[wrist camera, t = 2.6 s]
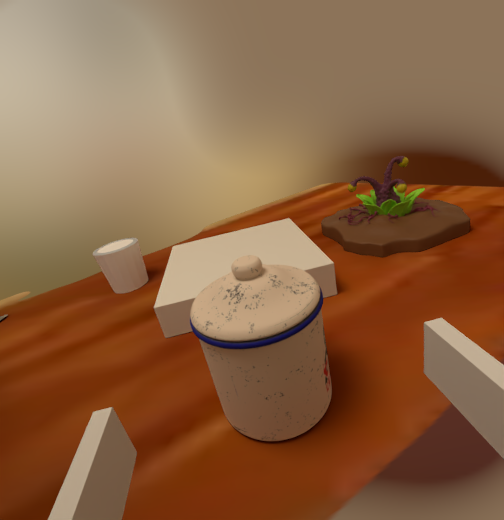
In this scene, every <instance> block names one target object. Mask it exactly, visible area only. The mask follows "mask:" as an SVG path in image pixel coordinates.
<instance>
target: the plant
mask: <svg viewBox="0 0 504 520" xmlns="http://www.w3.org/2000/svg"><path fill="white" fill-rule="evenodd" d="M394 162H397V164H398V165H399V166H400V167H405V166H406V165H407V164H408V159H407V158H406V157H404V156H399V157H395V158H392V160H391V162H390V163H389V164H388V167H387V169H386V172H385V174H384V175H385V178H384V183H383V184H380V183H378V182H377V181H376V180H374V179H372V178H370V177H365V176H364V177H360V178H358V179H356V180H355V181H352V182H351V183H350V184H349V186H348V190H349V191H350V192H353V191H355V190H356V187H357V182H358V181H361V180H364V181H365V180H366V181H368V182H369V183H370V184H371V185H372V186H373V188H374V190H371V191H370V194H371V196H372V198H371V197H369V196H366V195H359V194H357V195H356V196H357V197H358V198H360V199H361V200H362V201H363V202H364V203H363V204H362V205H361V204H359V206H358V207H352V208H351V207H350V208H349V209H345V210H340V211H337V213H336V214H334V215H332V216H329V217H326V218H324V219H323V220H322V223H321V225H322V233H323V235H325V236H326V237H329V238H331V239H333V240H335V241H336V242H338V243H339V244H340V245H342V246H343V248H344V250H345V251H347V252H353V253H356V254H359V255H370V256H377V257H386V256H388V255H391V254H395V253H401V252H421V251H424V250H427V249H429V248H432V247H434V246H437V245H439V244H442V243H444V242H447V241H449V240H452V239H454V238H457V237H460V236H462V235H464V234H467V233H468V232H469V228H470V218H469V217H468V216H467V215H466V214H465V213H464V212H463V209H462V208H460V207H458V206H456V205H453V204H450V203H447V202H444V201H440V200H426V199H422V198H416V197H417V196H419V194H420V193H422V192H423V191H424V190H425V189H424V188H422V189H417V190H415V191H413V192H411V193H410V194H409V195H408V196H407V197H405V198H404V194H405V191H406V189H407V185H406V183H405V182H404V181H403V180H401V179H395V180H393V181H391V174H392V172H391V170H392V166H393V164H394ZM397 183H398V184H397ZM396 184H397V188H395V187H394V186H395V185H396Z"/></svg>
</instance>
